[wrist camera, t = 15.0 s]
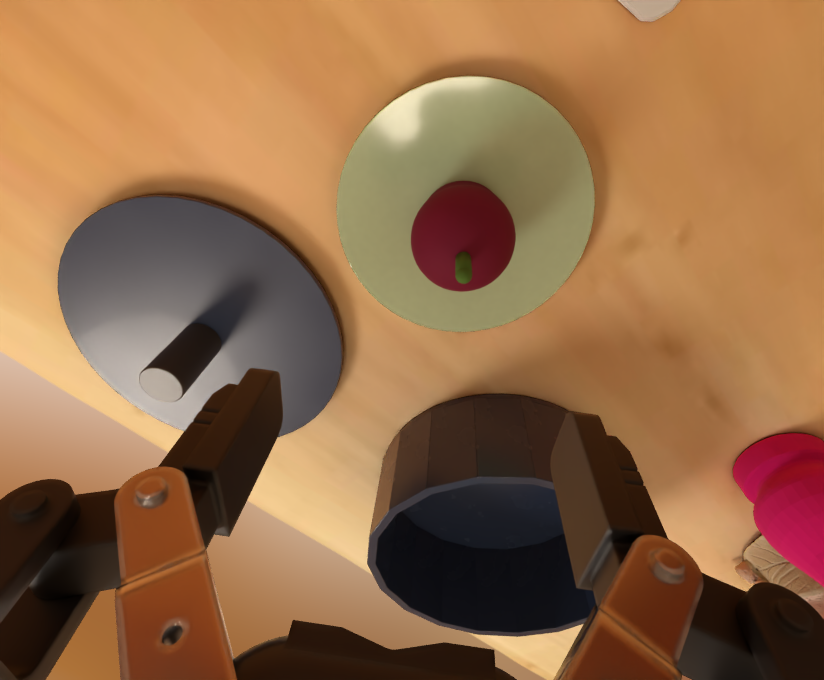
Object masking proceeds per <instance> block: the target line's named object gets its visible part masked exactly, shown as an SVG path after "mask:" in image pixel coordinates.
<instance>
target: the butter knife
mask: <svg viewBox="0 0 824 680" xmlns="http://www.w3.org/2000/svg"><path fill="white" fill-rule="evenodd" d="M618 1H619V2H620V3H621V4H622V5H623V6H625V7H626V8H627V9H628V10H629V11H630V12H631V13H632V14H633V15H634V16H635V17H637V18H638V19H639V20H640V21H651V22H653V21H655V20H657V19H659V18H660V17H662V16H664V15H666V14H668V13H669V12H671V11H672V10H673V9H674V8H675V7H676V5H677V4H678V3H679V2H680V0H618Z"/></svg>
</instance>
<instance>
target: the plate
mask: <svg viewBox="0 0 824 680" xmlns="http://www.w3.org/2000/svg"><path fill="white" fill-rule="evenodd" d="M455 181H472V182H476V183H479V184H481V185H483V186H485V187H487V188H488V189H490V190H491V191H492V192H493V193H494V194H495V195H496V196H497V197H498V198H499V199H500V200H501V201H502V202H503V203H504V204H505V205H506V207H507V209H508V210H509V212H510V214H511V216H512V218H513V222H514V226H515V233H516V242H515V248H514V252H513V255H512V258H511V260H510V262H509V264H508V266H507V267H506V269H505V270H504V271H503V272H502V274H501V275H500V276H499V277H498V278H497V279H496V280H494V281H493V282H492V283H490V284H488V285H487V286H485V287H482V288H480V289H476V290H473V291H465V292H459V291H451V290H447V289H444V288H442V287H439V286H437V285H436V284H434V283H433V282H431V281H430V280H429V279H428V278H427V277H426V276H425V275H424V274H423V273H422V272H421V270H420V269H419V267H418V266H417V264H416V262H415V259H414V257H413V253H412V249H411V231H412V226H413V222H414V219H415V217H416V215H417V213H418V211H419V210H420V208H421V207H422V205H423V204H424V203H425V202H426V201H427V200H428V198H429V197H430V196H431V195H432V194H433V193H434V192H435V191H436V190H437V189H439V188H440V187H442V186H444V185H446V184H448V183H451V182H455ZM336 208H337V224H338V230H339V235H340V240H341V243H342V246H343V249H344V252H345V255H346V257H347V259H348V262H349V264H350V266H351V268H352V270H353V271H354V273H355V274H356V276H357V277H358V279H359V281H360V282H361V283H362V284H363V286H364V287H365V288H366V289H367V290H368V292H369V293H370V294H371V295H372V296H373V297H374V298H375V299H376V300H378V301H379V302H380V303H381V304H382V305H384V306H385V307H386V308H388V309H389V310H390V311H392V312H393V313H395V314H397V315H399V316H400V317H402V318H404V319H406V320H408V321H411V322H413V323H415V324H418V325H421V326H424V327H428V328H431V329H437V330H442V331H452V332H471V331H479V330H486V329H490V328H494V327H498V326H502V325H504V324H507V323H509V322H512V321H515V320H517V319H519V318H521V317H522V316H524V315H526V314H528V313H530V312H531V311H533V310H534V309H536V308H537V307H539V306H540V305H542V304H543V303H544V302H545V301H546V300H548V299H549V298H550V297H551V296H552V295H553V294H554V293H555V292H556V291H557V290H558V289H559V288H560V287H561V286H562V285H563V284H564V283H565V281H566V280H567V279H568V277H569V276H570V274H571V273H572V272H573V270H574V269H575V267H576V265H577V263H578V262H579V260H580V258H581V256H582V254H583V252H584V249H585V247H586V244H587V242H588V239H589V235H590V231H591V227H592V224H593V216H594V208H595V188H594V182H593V175H592V170H591V166H590V163H589V160H588V157H587V154H586V151H585V149H584V147H583V145H582V143H581V141H580V139H579V137H578V135H577V134H576V132H575V131H574V130H573V128H572V127H571V125H570V124H569V122H568V121H567V120H566V119H565V118H564V117H563V116H562V115H561V113H560V112H559V111H558V110H557V109H556V108H555V107H553V106H552V105H551V104H550V103H548V102H547V101H546V100H544V99H543V98H542V97H541V96H539V95H537V94H535V93H534V92H532V91H530V90H528V89H526V88H525V87H523V86H520V85H517V84H514V83H512V82H509V81H506V80H503V79H498V78H493V77H488V76H475V75H462V76H453V77H446V78H442V79H438V80H434V81H430V82H427V83H425V84H423V85H420V86H418V87H416V88H413V89H411V90H409V91H408V92H406V93H404V94H403V95H401V96H399V97H398V98H396V99H394V100H393V101H392V102H391V103H389V104H388V105H387V106H386V107H384V108H383V109H382V110H381V111H380V112H378V113H377V115H376V116H375V117H374V118H373V119H372V120H371V121H370V122H369V123H368V124H367V125H366V127H365V128H364V129H363V131H362V132H361V134H360V135H359V137H358V138H357V139H356V141H355V143H354V145H353V147H352V149H351V151H350V153H349V154H348V156H347V159H346V162H345V165H344V167H343V170H342V173H341V177H340V182H339V187H338V193H337V207H336Z"/></svg>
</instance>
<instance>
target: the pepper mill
mask: <svg viewBox="0 0 824 680" xmlns="http://www.w3.org/2000/svg"><path fill="white" fill-rule="evenodd" d="M733 476H734V479H735V481H736V482H737V484H738V485H739V487H740V488H741V490H742V491H743V493H744V494H745V496H746V497H747V499H749V500H750V501H751V502H752V503H753V504H754V510H753V514H754V520H755V523H756V526H757V528H758V529H759V531H760V532H761V533H762V535H763V536H764V537H765V539H766V540H767V541H768V543H769V544H770V545H771V546H772V547H773V548H774V549H775V550H776V551H777V552H778V553H779V554H780V555H782V556H783V557H784V558H785V559H786V560H787V561H789V562H790V563H791V564H793V565H794V566H796V567H797V568H798V569H800V570H801V571H803V572H804V573H806V574H807V575H808V576H810V577H811V578H813V579H814V580H815V581H816V582H818V583H819V584H820V585H821V586H823V587H824V441H822V440H821V439H819V438H817V437H815V436H812V435H808V434H799V433H788V434H781V435H776V436H772V437H769V438H766V439H763V440H761V441H759V442H757V443H755V444H753V445H752V446H750V447H749V448H747V449H746V450H745V451H744V452H743V453H742V454H741V455H740V456H739V457H738V458H737V460H736V463H735V465H734V467H733Z"/></svg>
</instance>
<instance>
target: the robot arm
mask: <svg viewBox="0 0 824 680" xmlns="http://www.w3.org/2000/svg"><path fill="white" fill-rule="evenodd" d="M282 421H283V405H282V393H281V381H280V374H279V372H278V371H272V370H265V369H257V368H250V369H249V370H248V371H247V372H246V374H245V375H244V376H243V378H242V379H241V381H240V382H239V384H238V385H237V384H230V383H228V384H227V385H225V386H224V387H222V388H221V389H219V390H218V391H216V392H215V393H213V394H212V395H211V396H210V398H209V399H208V400H207V402H206V403H205V404H204V406H203V407H202V410H201V411H199V413H198V414H197V415H196V417H195V418H194V419H193V423H192V422H191V423H190V425H189V426H188V427H187V429H186V430H185V431H184V433H183V434H182V435H181V437H180V438H179V440H178V441H177V442H176V444H175V445H174V446H173V448H172V449H171V450H170V452H169V453H168V454H167V456H166V457H165V458H164V460H163V461H162V463H161V464H160V465H159V466H158V467H156V468H152V469H148V470H145V471H143V472H141V473H139V474H136V475H135V476H133V477H132V478H130V479H129V480H128V481H127V482H125V483H124V484H123V486H122V487H121V488H120V489H116V490H109V491H101V492H94V493H86V494H78V495H75V494H74V492H73V490H72V488H71V486H70V485H69V484H68V483H66V482H64V481H61V480H56V479H47V480H40V481H35V482H32V483H29V484H26V485H24V486H21V487H19V488H18V489H16V490H14V491H12V492H10V493H9V494H7V495H6V496H5V497H4V498H2V499H1V500H0V680H46V678H47V677H48V675H49V673H50V672H51V670H52V668H53V667H54V665H55V664H56V662H57V660H58V659H59V657H60V656H61V654H62V652H63V651H64V649H65V647H66V646H67V644H68V642H69V641H70V639H71V637H72V636H73V634H74V633H75V631H76V629H77V628H78V626H79V625H80V623H81V621H82V620H83V618H84V616H85V615H86V613H87V612H88V610H89V608H90V607H91V605H92V603H93V602H94V600H95V598H96V597H97V595H98V594H99V592H100V591H104V590H109V589H114V588H116V590H115V610H116V623H117V635H118V650H119V664H120V677H121V680H517V679H515V678H514V677H512V676H510V675H509V674H508V673H506V672H505V671H503V670H501V669H499V668H497V667H495V655H494V650H491V649H485V648H478V647H471V646H464V645H458V644H451V643H438V644H432V645H424V646H418V647H411V648H405V649H398V650H391V649H387V648H385V647H383V646H381V645H379V644H376V643H374V642H372V641H370V640H368V639H366V638H364V637H361V636H359V635H357V634H355V633H353V632H351V631H349V630H346V629H344V628H342V627H336V626H330V625H322V624H315V623H309V622H303V621H295V620H293V621H292V625H291V628H290V632H289V635H288V636H283V637H278V638H275V639H271V640H268V641H265V642H263V643H261V644H258V645H256V646H254V647H252V648H250V649H249V650H247V651H245V652H243V653H242V654H240V655H239V656H237V657H236V658H233V653H232V649H231V645H230V641H229V638H228V634H227V630H226V626H225V622H224V619H223V614H222V611H221V607H220V602H219V599H218V594H217V590H216V586H215V582H214V578H213V574H212V571H211V567H210V563H209V559H208V555H207V551H206V549H207V547H208V545H209V543H210V541H211V539H212V537H213V535H214V534H215V535H222V536H228V537H229V536H230V534H231V532H232V530H233V528H234V526H235V524H236V522H237V520H238V517H239V516H240V514H241V511H242V509H243V507H244V505H245V503H246V501H247V499H248V497H249V495H250V493H251V491H252V489H253V487H254V485H255V483H256V480H257V478H258V476H259V474H260V472H261V470H262V468H263V466H264V464H265V462H266V460H267V458H268V456H269V454H270V452H271V449H272V447H273V445H274V443H275V441H276V439H277V437H278V435H279V433H280V430H281V426H282ZM550 468H551V475H552V480H553V484H554V489H555V493H556V498H557V502H558V507H559V512H560V516H561V521H562V525H563V530H564V534H565V539H566V543H567V548H568V552H569V557H570V561H571V566H572V570H573V575H574V580H575V584H576V588H578V589H585V590H592V591H593V593H594V597H595V601H596V604H595V605H594V607H593V608H592V610H591V612H590V614H589V616H588V618H587V619H586V621H585V623H584V625H583V627H582V629H581V630H580V632H579V634H578V636H577V638H576V640H575V641H574V643H573V645H572V647H571V649H570V651H569V652H568V654H567V656H566V658H565V660H564V661H563V663H562V665H561V667H560V669H559V671H558V672H557V674H556V676H555V678H554V679H553V680H681V679H682V675H684V676H686V677H688V678H690V679H692V680H824V619H823V618H822V616H821V615H820V614H819V613H818V612H817V611H816V610H815V609H814V608H813V607H812V606H811V605H810V604H809V603H808V602H807V601H806V600H804V599H803V598H802V597H800V596H799V595H797V594H796V593H794V592H793V591H791V590H789V589H787V588H785V587H783V586H780V585H777V584H774V583H768V582H760V583H757V584H755V585H753V586H752V587H751V588H750V589H749V590H748V591H747V592H745V591H743V590H740V589H738V588H736V587H733V586H731V585H729V584H726V583H724V582H721V581H719V580H717V579H714V578H712V577H710V576H708V575H706V574H704V573H702V572H701V571H700V569H699V567H698V565H697V564H696V562H695V561H694V560H693V558H692V557H691V556H690V555H689V554H688V553H687V552H686V551H685V550H684V549H683V548H681V547H680V546H679V545H677V544H676V543H674V542H672V541H670V540H669V539H668V538H667V535H666V533H665V531H664V528H663V526H662V524H661V522H660V519H659V517H658V515H657V512H656V510H655V508H654V505H653V503H652V501H651V499H650V496H649V494H648V492H647V489H646V487H645V486H643V483H644V482H643V480H642V478H641V476H640V473H639V472H637V466H636V464H635V462H634V459H633V457H632V455H631V453H630V451H629V450H628V449H627V448H626V447H625V446H624V445H623V444H622V442H621V441H620V440H619V439H618V438H617V437H615V436H607V434H606V432H605V429H604V427H603V424H602V422H601V419H600V417H599V416H598V415H593V414H586V413H578V412H571V411H570V412H568V413H567V414H566V416H565V418H564V421H563V424H562V426H561V429H560V431H559V434H558V437H557V439H556V442H555V445H554V447H553V450H552V454H551V462H550Z"/></svg>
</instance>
